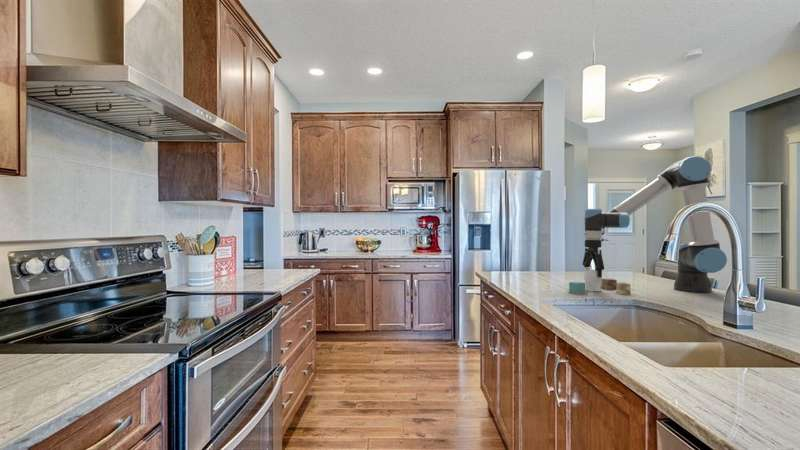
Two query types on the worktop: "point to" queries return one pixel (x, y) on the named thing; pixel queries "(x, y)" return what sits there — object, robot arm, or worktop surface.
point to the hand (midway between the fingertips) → (592, 281)
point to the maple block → (623, 288)
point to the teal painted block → (577, 287)
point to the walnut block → (609, 284)
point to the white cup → (591, 281)
